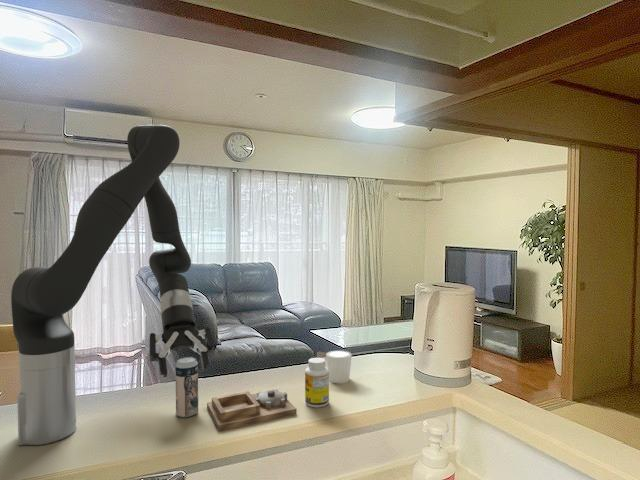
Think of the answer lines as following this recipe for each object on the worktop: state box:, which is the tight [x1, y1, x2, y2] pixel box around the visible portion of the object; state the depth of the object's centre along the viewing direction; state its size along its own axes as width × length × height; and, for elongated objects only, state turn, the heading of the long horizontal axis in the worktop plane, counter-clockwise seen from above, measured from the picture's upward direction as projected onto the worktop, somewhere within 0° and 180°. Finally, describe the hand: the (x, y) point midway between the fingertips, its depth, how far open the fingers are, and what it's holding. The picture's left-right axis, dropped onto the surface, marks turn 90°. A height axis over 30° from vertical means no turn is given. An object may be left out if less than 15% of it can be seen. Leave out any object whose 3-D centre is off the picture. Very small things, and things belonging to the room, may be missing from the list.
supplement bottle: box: [304, 357, 330, 408], centre depth 97 cm, size 6×6×10 cm
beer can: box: [174, 356, 199, 418], centre depth 92 cm, size 5×5×12 cm
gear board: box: [206, 389, 298, 432], centre depth 93 cm, size 17×12×3 cm
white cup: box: [325, 350, 353, 384], centre depth 112 cm, size 7×7×7 cm
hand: (185, 372), depth 94 cm, fingers open, 8 cm apart
